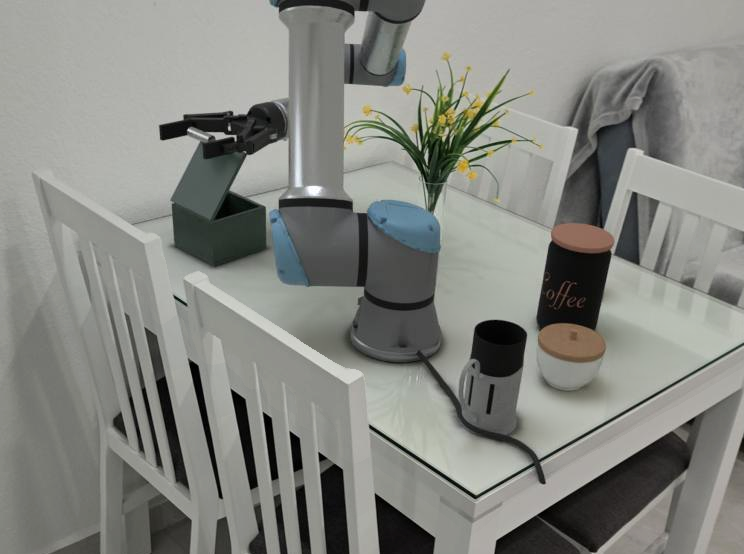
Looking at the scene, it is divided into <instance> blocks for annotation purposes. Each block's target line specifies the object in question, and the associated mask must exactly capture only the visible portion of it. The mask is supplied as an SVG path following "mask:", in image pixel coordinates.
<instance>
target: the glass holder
mask: <svg viewBox="0 0 744 554" xmlns="http://www.w3.org/2000/svg"><path fill="white" fill-rule="evenodd" d="M527 340H528V333H527V331H526V329H524V327H522V326H521V325H519V324H518V323H515V322H512V321H509V320H504V319H486V320H483V321H480V322H478V323H477V324H476V325H475V326H474V328H473V336H472V344H471V352H470V355H469V358H468V361H467V362H466V364H465V365H464V367H463V368H462V370H461V373H460V376H459V382H458V389H457V390H458V400H459V402H460V405H461V408H462V415H463V417H464V418H465V420H466V421H467V422H469V423H470V424H472V425H473V426H475V427H477V428H479V429H482V430H486V431H490V432H494V433H499V434H503V435H507V436H508V435H509V434H512V432H514V431H515V430H516V428H517V425H518V421H517V420H518V419H517V417H516V412H517V408H518V407H517V406H518V400H519V395H520V388H521V383H522V377H523V371H524V364H525V363H524V362H525V353H526V352H525V351H526V346H527ZM465 381H466V382H465ZM458 420H459V421H458V422H459V423H460V424H461V426H462V427H463V428H464V429H465V430H467V431H469V432H471V433H472V434H474V435H478V436H481V437H484V436H483V435H480V434H477V433H475V432H473V431H471V430H469V429H468V428H467V427H465V426H464V425H463V424H462V422H461V421H460V419H459V418H458Z"/></svg>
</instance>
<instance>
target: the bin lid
mask: <svg viewBox="0 0 744 554" xmlns="http://www.w3.org/2000/svg"><path fill="white" fill-rule="evenodd" d="M187 137H189V138H192V139H193V140H197V141H199V142H198V144H197V147H196V149H195V151H194V152H193V153H192V154H193V155H192V156H191V158H190V161H189V162H188V164H187V166H186V168H185V170H184V172H183V174H182V176H181V178H180V180H179V182H178V184H177V186H176V187H175V190H174V191H173V193H172V195H171V197H170V200H169V202H171V203H176V204H178V205H180V206H182V207H184V208H186V209H188V210H190V211H192V212H194V213H196V214H198V215H200V216H202V217H204V218H206V219H208V220H211V221H214V219H215V217H216V215H217V213H218V211H219V209H220V207H221V205H222V203H223V201H224V199H225V197H226V195H227V193H228V192H229V190H230V191H231V188H232V186H233V184H234V183H235V180H236V178H237V176H238V173H239V172H240V170H241V168H242V166H243V165H244V162H245V160H246V158H247V157H248V155H247V154H246V152H245V151H244V152H243V153H238V152H237V151H236V152H235V153H231V154H227V155H223V156H219V157H215V158H211V159H203V143H206V142H211V141H215V140H217V139H216V136H215V135H213V134H210V133H209V132H203V131H201V130H199V129H196V128H194V127H190V128H188V130H187Z"/></svg>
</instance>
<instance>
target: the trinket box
mask: <svg viewBox="0 0 744 554" xmlns="http://www.w3.org/2000/svg"><path fill="white" fill-rule="evenodd" d="M536 345H537V347H536V364H537V367H538V370H539V372H540V374H541V375H542V377H543V378H544V380H545V382H546V383H547V384H548V385H549V386H551V387H552V388H554V389H556V390H559V391H565V392H573V391H578V390H580V389H581V388H582V387H584V386H587V385H588V384H589V383H590V382H592V380H593V379H594V378H595V377H596V376H597V374H598V373H599V371H600V369H601V366H602V363H603V359H604V356H605V354H606V350H607V341H606V340H605V338H604V337H603V336H602V335H601V334H600V333H599V332H596V330H595V331H593V330H591V329H589V328H587V327H583V326H580V325H575V324H567V323H560V324H552V325H549V326H546V327H544V328H543V329H542V330H540V331H539V332H538V336H537V344H536Z"/></svg>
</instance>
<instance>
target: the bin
mask: <svg viewBox="0 0 744 554" xmlns="http://www.w3.org/2000/svg"><path fill="white" fill-rule="evenodd" d="M171 216H172V231H173V232H172V233H173V244H174V245H173V246H174V247H175V248H178V249H179V250H181V251H184V252H185V253H187V254H188V255H191V256H193V257H194V258H196V259H198V260H200V261H202V262H204V263H206V264H208V265H209V266H211V267H217V266H220V265H222V264H226V263H229V262H231V261H235V260H238V259H241V258H243V257H246V256H249V255H252V254H255V253H257V252H260V251H263V250H266V249H267V206H265V205H263V204H261V203H259V202H257V201H255V200H252V199H251V198H247V197H246V196H243V195H241V194H238V193H237V192H234V191H231V189H230V190H229V192H228V193H227V195H226V197H225V199H224V201H223V203H222V205H221V207H220V209H219V211H218V213H217V215H216V217H215V219H214V221H211V220H208V219H206V218H204V217H202V216H200V215H198V214H196V213H194V212H192V211H190V210H188V209H186V208H184V207H182V206H180V205H178V204H176V203H174V202H171Z"/></svg>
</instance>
